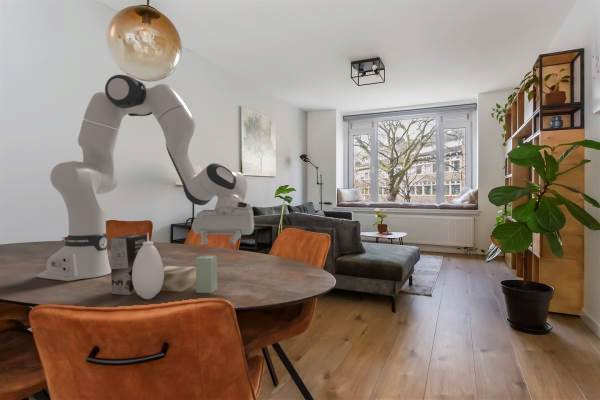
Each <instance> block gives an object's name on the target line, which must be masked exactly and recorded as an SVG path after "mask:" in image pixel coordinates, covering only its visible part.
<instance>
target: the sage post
mask: <svg viewBox="0 0 600 400" xmlns="http://www.w3.org/2000/svg"><path fill="white" fill-rule="evenodd" d="M195 267H196V283H195V285H196V286H195V292H196V293H199V294H212V293H214V292H215V291H216V290H218V254H217V255H214V254H213V255H212V254H211V255H210V254H209V255H208V254H203V255H200V256H197V257H196V258H195ZM213 291H214V292H213Z"/></svg>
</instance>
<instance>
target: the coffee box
mask: <svg viewBox="0 0 600 400" xmlns="http://www.w3.org/2000/svg"><path fill="white" fill-rule="evenodd" d="M110 241H111V243H110V245H111V246H110V247H111V248H110V250H111V251H110V254H111V256H110V258H111V259H110V260H111V261H110V268H111V273H110V282H111V283H110V285H111V286H110V293H111V295H123V296H130V295H134V294H137V293H136V291H135V289H134V286H133V282H132V270H133V265H134V261H135V258H136V256H137V253H138V251H139V250H140V248H141V247H142V246H143V242H147V234H146V233H145V234H128V235H122V236H115V237H110Z"/></svg>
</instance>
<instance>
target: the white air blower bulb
mask: <svg viewBox="0 0 600 400" xmlns="http://www.w3.org/2000/svg"><path fill="white" fill-rule="evenodd" d="M146 235H147V242H143V246H142V247H141V248H140V250H139V251H138V253H137V256H136V258H135V261H134V265H133V270H132V282H133V286H134V289H135V291H136V293H135V294H137V296H140V297H141V299H145V300H152V299H153V298H155V297H156V296H157V294H160V292H161V291H160V290H161V288H162V285H163V281H164V268H163V267H164V264H163V260H162V257H161V255H160V252H159V251H158V249H157V247H156V246H155V245H154V241H150V234H149V232H147V233H146Z"/></svg>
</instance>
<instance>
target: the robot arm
mask: <svg viewBox="0 0 600 400" xmlns="http://www.w3.org/2000/svg"><path fill="white" fill-rule="evenodd" d="M104 86H105V87H104V91H98V92H96V93H94V94H93V95H92V97H91V98H90V101H89V103H88V104H87V106H86V109H85V112H84V114H83V115H84V116H83V119H82V122H81V127H80V130H79V133H78V137H77V142H78V146H79V147H80V148H81V150H82V161H77V160H75V161H74V160H71V161H65V162H60V163H57V164H55V166H53V168H52V169H51V170H50V171H51V172H50V177H49V178H50V183H51V185H52V187H53V188H54V189H55V190H57V191H58V192H59V194H60V195H61V197H62V199H63V201H64V203H65V206H66V210H67V215H68V216H67V217H68V235H67V236H64V237H62V239H61V242H64V241H65V242H64V245H63V247H61V248H60V249H59V250H58V251H56V252H55V253H53V254H52V255H50V257H48V259H47V261H46V268H45V270H44V271H42V272H40V273H38V274H37V276H36V277H37V278H38V277H39V279H48V280H56V281H65V282H71V281H76V280H77V281H78V280H83V279H92V278H97V277H98V278H99V277H103V276H107V275H109V274H111V264H110V261H109V256H108V249H107V248H108V243H109V242H108V241H109V240H108V238H109V237H108V232H107V217H106V216H107V215H106V214H107V213H106V210H105V209H104V208H103V207H102V206H101V204H100V203H99V200H98V195H102V194H107V193H109V192H112V191H113V190H115V189H116V188H117V187H118V184H119V175H118V173H117V172H116V170H115V161H114V160H115V159H114V157H115V156H114V152H115V148H116V147H115V146H116V143H117V140H118V139H117V138H118V135H119V130H120V128H121V124H122V120H123V119H124V117H125V116H127V115H128V116H129V117H148V116H150V115H153V117H154V118H155V119H156V121H157V123H158V124H159V126H160V128H161V130H162V133H163V134H164V135H163V136H164V139H165V146H166V150H167V154H168V156H169V158H170V160H171V163H172V165H173V167H174V169H175V171H176V174H177V175H178V177H179V180H180V182H181V184H182V188H183V192H184V194H185V197H186V199H187V201H190V202H191V203H192V204H195V205H197V206H206V205H207V204H208V203H209V202H210V201H211V200H212V199H213V198H215V197H217V201H216V204H215V207H214V209H209V210H208V209H203V210H201V211H199V212H198V213H196V214H197V215H196V216H195V218H194V220H193V222H192V224H191V229H192V231H193V232H194V234H196V235H200V236H201V238H200V243H201V245H207V243H208V239H209V238H208V237H207V235H233V236H230V237H229V244H230V245H236V243H237V241H238V240H239V239H240V238H241V237H242V236H245V235H251V234H253V233H254V230H255V220H254V210H253V207H252V206H251V203H248V202H244V201H245V199H246V195H247V191H248V181H247V178H246V176H245V175H244V174H243V173H241V172H239V171H231V170H230V169H229V168H227V167H225V166H224V165H222V164H220V163H215V162H214V163H213V162H212V163H210V164H208V165H207V166H206V167H205V168H203V169H202V170H200V172H199V173H197V171H196V170H195V167H194V166H193V163H192V162H191V159H190V156H189V148H190V147H189V145H190V143H191V140H192V137H193V136H194V132H195V128H196V123H195V119H194V116H193V115H192V113H191V111H190V109H189V107H188V106H187V105H186V103H185V102H184V100H183V99H182V97H181V96H180V94H179V93H177V91H175V89H173V87H172V86H170V85H169V84H167V83H160V84H156V85H154V86H152V87H148V86H147V85H146V84H145V83H143V82H142V81H139V80H137V79H136V78H134V77H132V76H129V75H125V74H114V75H112V76H111V77H109V79H108V80H107V81H106V82H105V85H104Z"/></svg>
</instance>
